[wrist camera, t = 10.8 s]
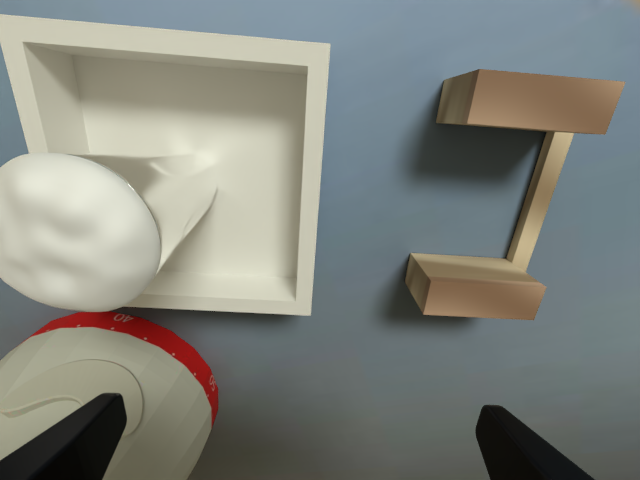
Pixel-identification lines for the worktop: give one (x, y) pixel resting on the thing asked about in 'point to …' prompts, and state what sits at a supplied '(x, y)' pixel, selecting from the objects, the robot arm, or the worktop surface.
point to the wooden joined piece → (560, 124)
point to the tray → (192, 142)
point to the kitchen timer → (112, 390)
